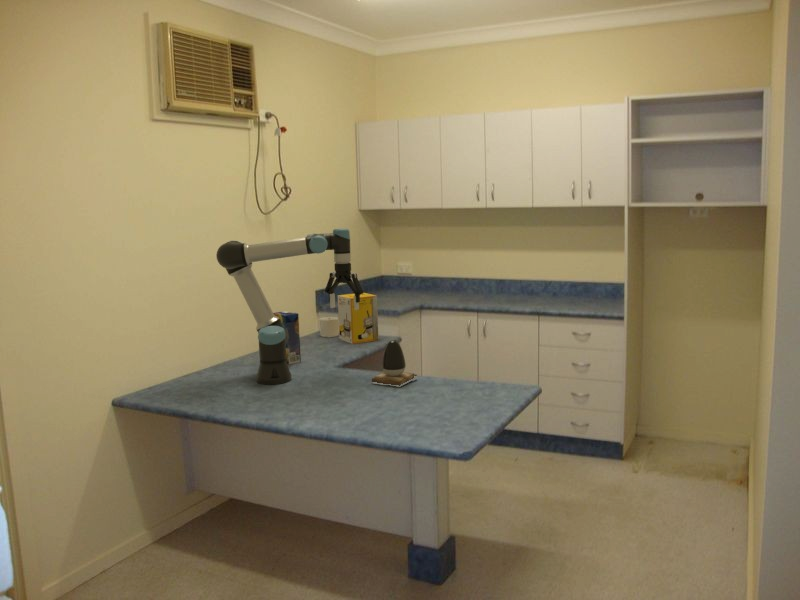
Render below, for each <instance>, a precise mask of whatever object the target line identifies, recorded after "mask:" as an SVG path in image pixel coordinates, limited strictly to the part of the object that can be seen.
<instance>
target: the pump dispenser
mask: <svg viewBox="0 0 800 600" xmlns="http://www.w3.org/2000/svg"><path fill="white" fill-rule="evenodd" d="M405 358H406V357H405V354H404V352H403V348H402V347H401V345H400V343H399V342H398V341H397V339H394V340H390V341H388V342H387V344H386V346H385V348H384V351H383V355H382V359H381V368H382V370H383V373H385V374H386V375H388V376H392V377H395V376H399V375H401V374H402V373H403V372H405V369H406V366H407V365H406V359H405Z"/></svg>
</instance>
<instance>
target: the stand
mask: <svg viewBox="0 0 800 600" xmlns="http://www.w3.org/2000/svg"><path fill="white" fill-rule="evenodd" d="M414 376H417V377H418V375H417V374H416V373H413V372H408V371H407V372H405V371H404V372H403V373H402V374H401V375H399V376H395V377H392V376H388V375H386V374H385V373H384V372H382V373H380V374H378V375H376V376H374V377H372V378H371V383H372V382H377V383H383V384H391V385H399V386H400V385H401V384H403V383H405V382H407V381H409V380H411V379H413V378H414Z"/></svg>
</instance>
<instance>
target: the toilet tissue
mask: <svg viewBox="0 0 800 600" xmlns="http://www.w3.org/2000/svg"><path fill="white" fill-rule="evenodd" d="M319 327H320V328H319V329H320V332H319V333H320V337H323V338H334V337H338V336H339V317H337V316H336V317H335V316H327V317H320V318H319Z"/></svg>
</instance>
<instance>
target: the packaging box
mask: <svg viewBox="0 0 800 600" xmlns="http://www.w3.org/2000/svg"><path fill="white" fill-rule="evenodd" d="M354 296H355V294H354V293H345V294H340V295H339V294H338V295H337V312H338V324H339V335H338V336H339V337H338V338H339V340H340V341H344V342H345V343H346V342H347V343H348V344H352V345H354V344H361V343H366V342H367V343H368V342H374V341H379V321H378V319H379V318H378V317H379V316H378V315H379V313H378V312H379V311H378V310H379V309H378V295H376V294H370V293H366V292H363V294H360V302H359V309H358V310H354Z"/></svg>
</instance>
